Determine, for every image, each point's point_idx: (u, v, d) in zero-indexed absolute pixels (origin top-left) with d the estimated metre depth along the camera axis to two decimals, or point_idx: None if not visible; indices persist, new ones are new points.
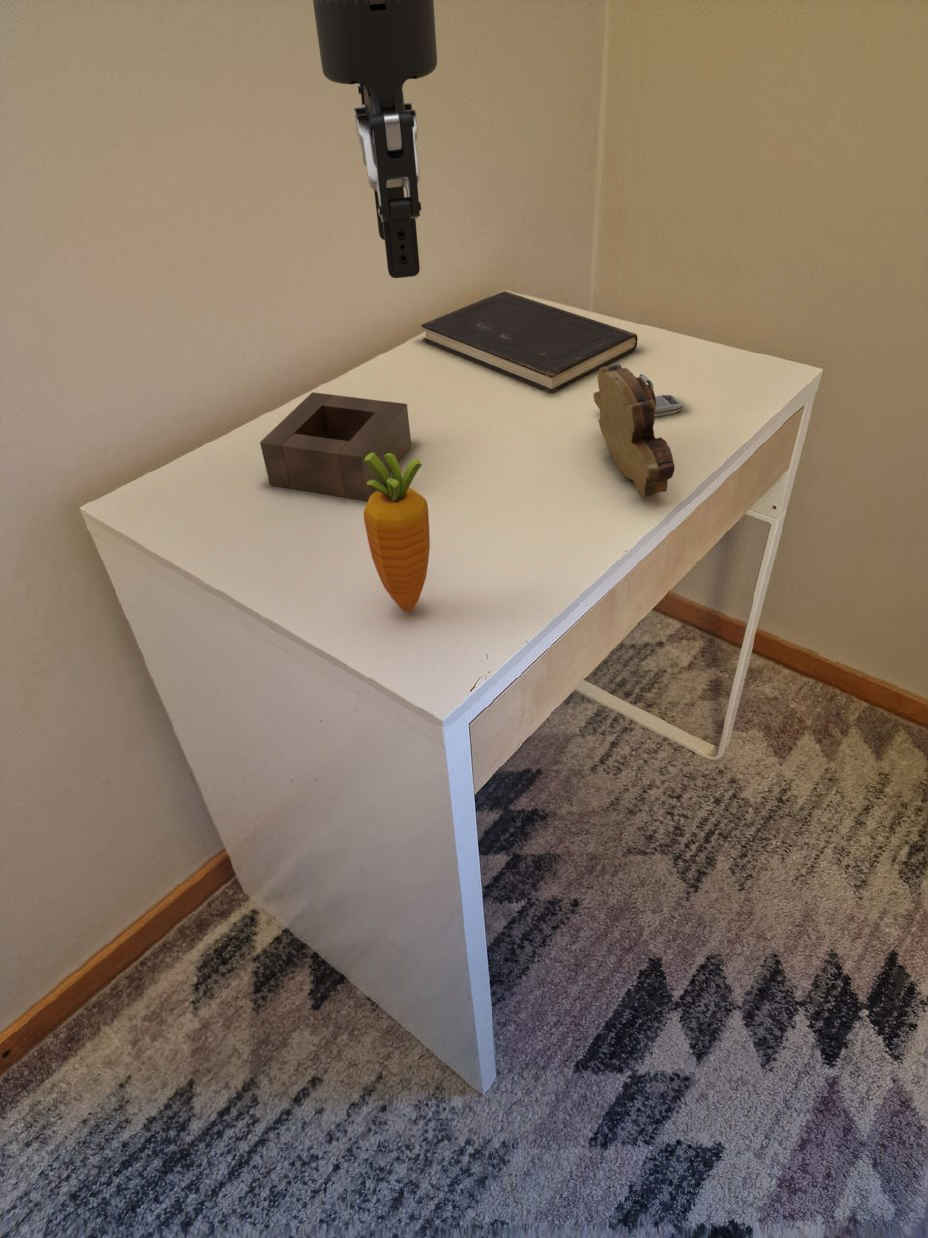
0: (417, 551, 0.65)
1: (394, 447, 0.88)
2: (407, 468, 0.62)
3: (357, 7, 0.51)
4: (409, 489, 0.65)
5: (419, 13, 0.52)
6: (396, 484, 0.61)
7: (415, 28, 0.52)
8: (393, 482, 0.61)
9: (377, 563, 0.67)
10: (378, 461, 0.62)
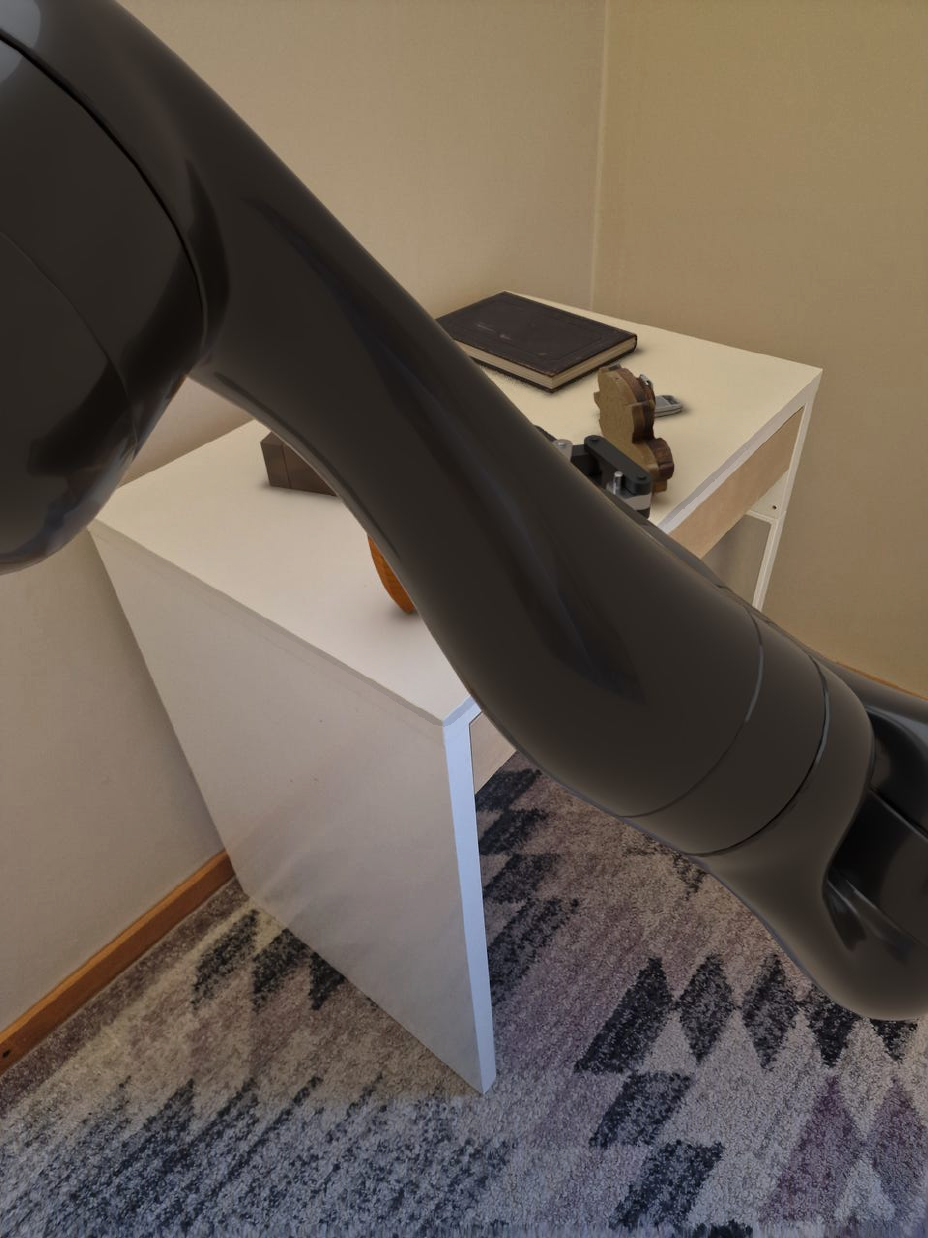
0: None
1: None
2: None
3: None
4: None
5: None
6: None
7: None
8: None
9: (377, 563, 0.67)
10: None
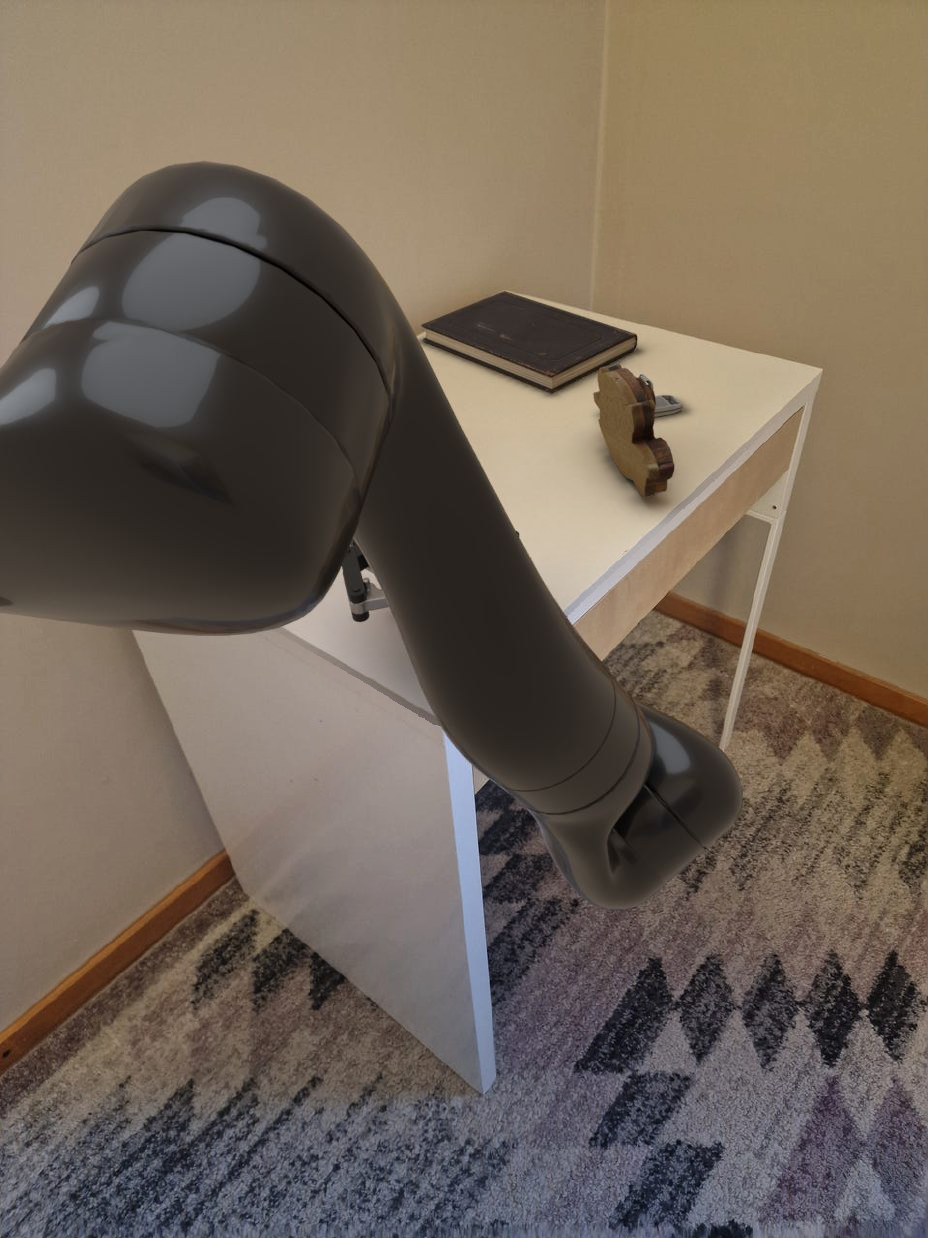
0: None
1: None
2: None
3: None
4: None
5: None
6: None
7: None
8: None
9: None
10: None
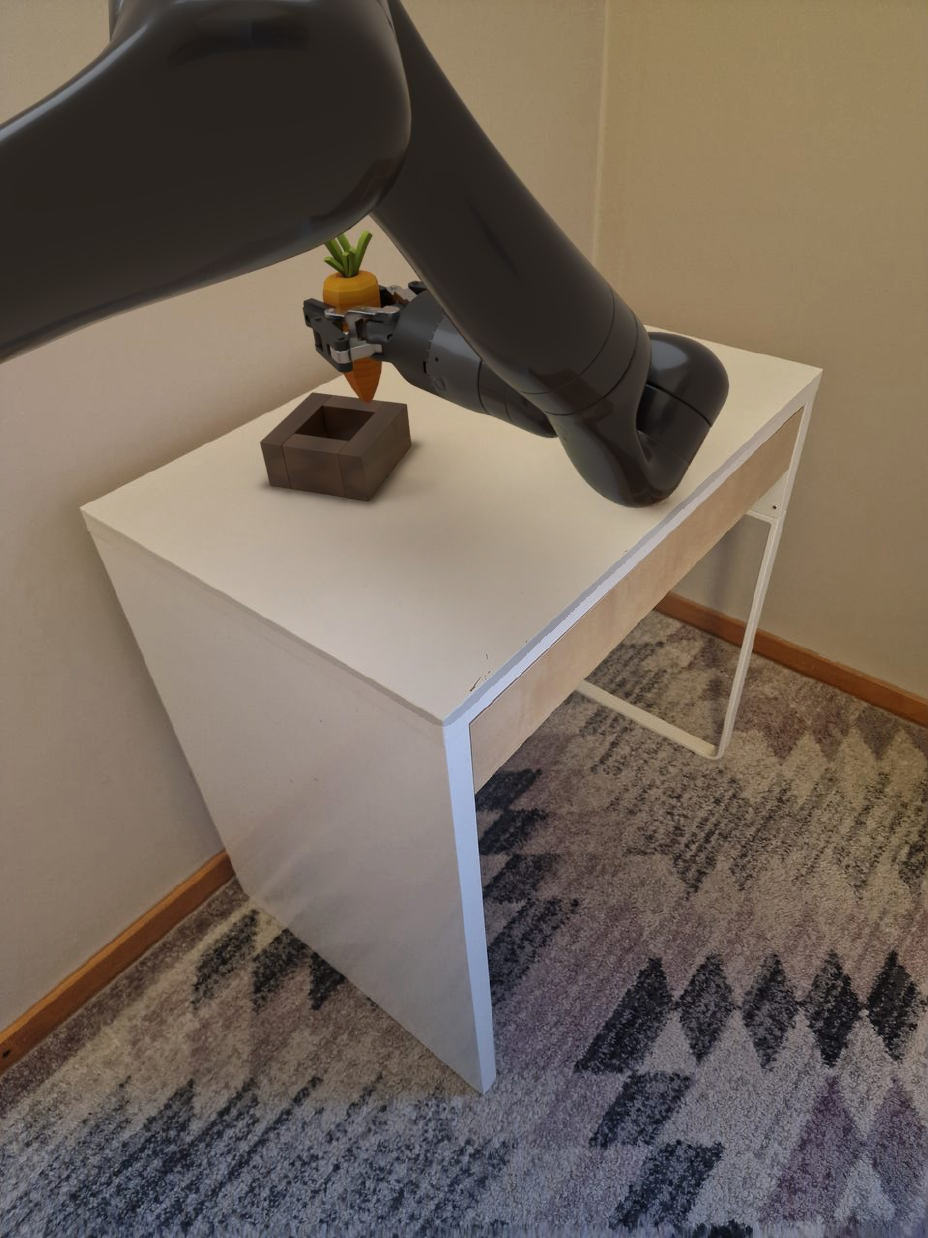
0: None
1: (394, 447, 0.88)
2: (359, 240, 0.68)
3: (425, 350, 0.61)
4: None
5: (433, 393, 0.64)
6: (355, 250, 0.66)
7: (423, 387, 0.64)
8: (352, 248, 0.66)
9: None
10: None
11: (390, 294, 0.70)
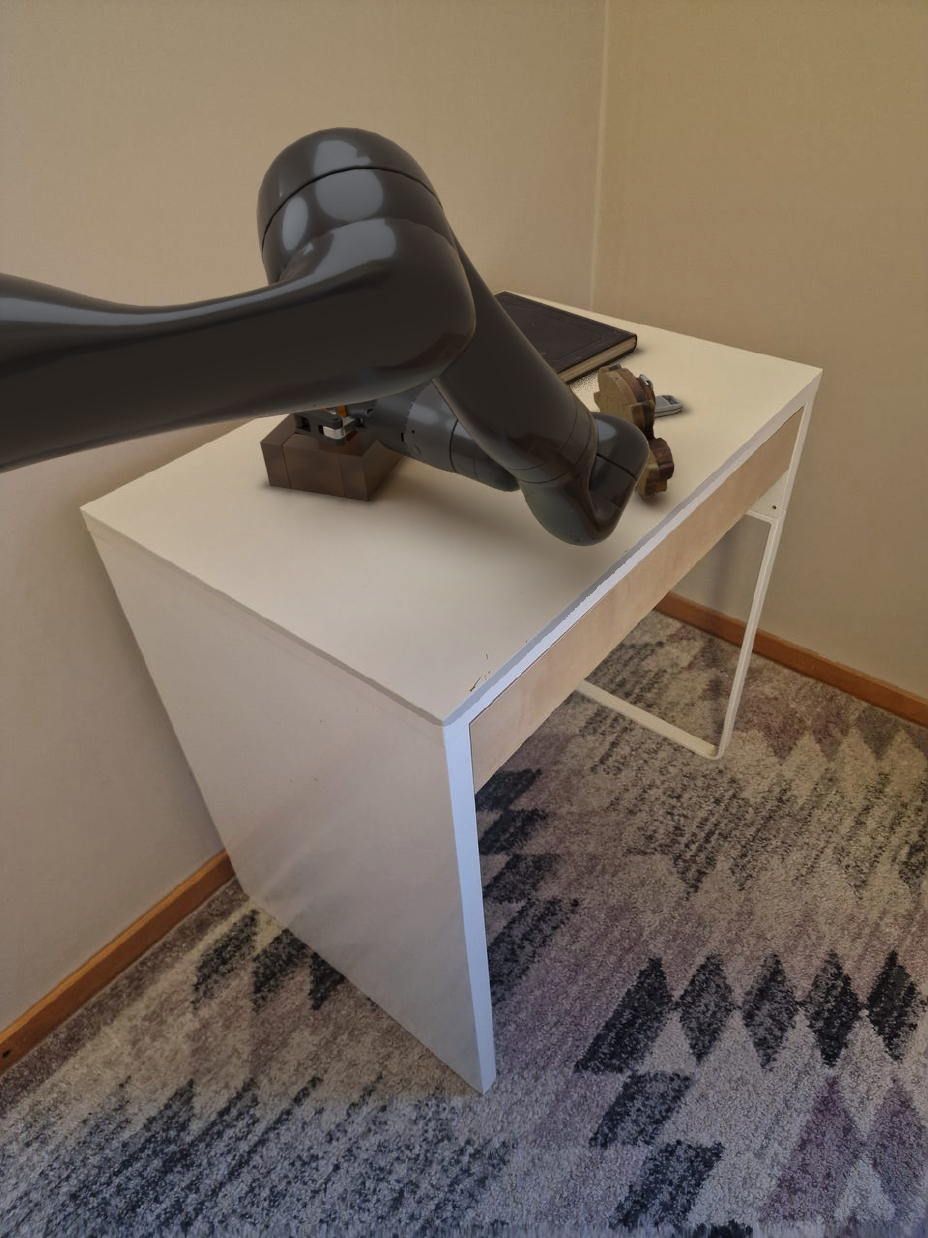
0: None
1: None
2: None
3: (402, 424, 0.74)
4: None
5: (408, 456, 0.78)
6: None
7: (399, 452, 0.78)
8: None
9: None
10: None
11: None
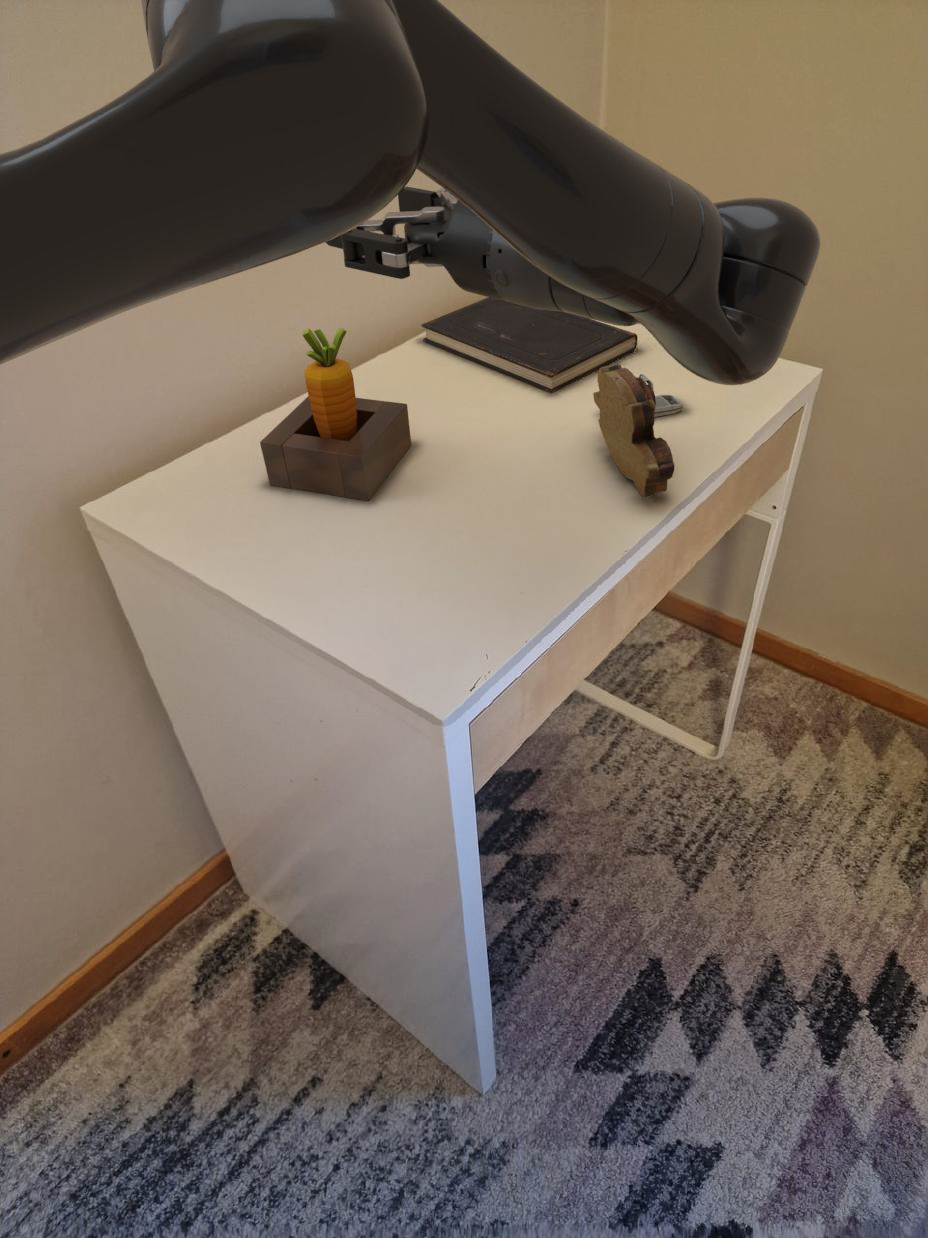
0: (351, 405, 0.84)
1: (394, 447, 0.88)
2: (336, 336, 0.81)
3: (486, 243, 0.58)
4: None
5: (488, 292, 0.61)
6: (334, 346, 0.80)
7: (477, 287, 0.61)
8: (332, 345, 0.79)
9: (320, 422, 0.85)
10: (313, 334, 0.80)
11: (438, 197, 0.68)
